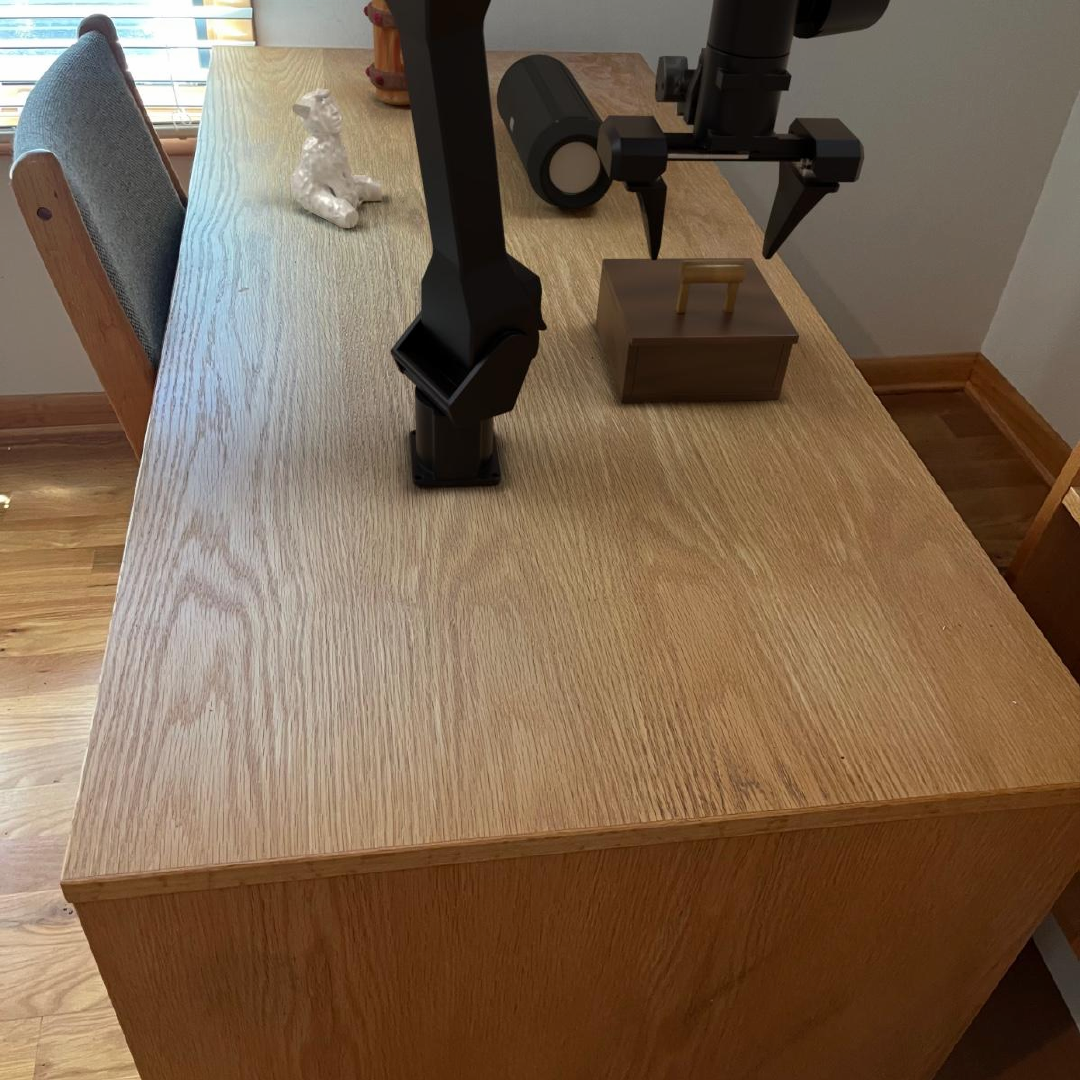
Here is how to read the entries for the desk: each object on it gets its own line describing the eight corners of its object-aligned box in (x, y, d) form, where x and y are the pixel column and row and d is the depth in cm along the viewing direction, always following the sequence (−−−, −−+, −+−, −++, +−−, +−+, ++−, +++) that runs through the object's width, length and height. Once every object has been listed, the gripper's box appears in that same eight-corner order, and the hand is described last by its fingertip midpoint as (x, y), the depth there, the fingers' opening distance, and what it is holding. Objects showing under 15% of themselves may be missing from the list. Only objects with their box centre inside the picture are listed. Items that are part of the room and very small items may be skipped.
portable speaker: (492, 132, 128) (494, 47, 122) (569, 131, 130) (575, 47, 124) (529, 220, 110) (533, 125, 103) (618, 217, 112) (628, 124, 105)
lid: (797, 344, 82) (812, 284, 78) (631, 346, 80) (639, 286, 77) (750, 266, 92) (762, 210, 88) (601, 266, 90) (607, 210, 86)
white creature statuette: (351, 232, 105) (343, 112, 97) (274, 218, 106) (260, 99, 99) (386, 197, 112) (382, 83, 104) (314, 184, 113) (303, 70, 105)
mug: (360, 91, 137) (353, -35, 127) (417, 86, 140) (415, -38, 130) (396, 130, 127) (391, -3, 117) (457, 123, 130) (458, -7, 120)
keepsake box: (778, 399, 86) (794, 339, 82) (621, 403, 84) (629, 341, 81) (738, 323, 96) (750, 266, 92) (595, 325, 94) (601, 267, 90)
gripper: (836, 15, 77) (790, 213, 88) (594, 9, 75) (576, 213, 85) (894, 63, 69) (836, 275, 80) (624, 57, 67) (600, 277, 77)
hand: (709, 257), depth 80 cm, fingers open, 9 cm apart
